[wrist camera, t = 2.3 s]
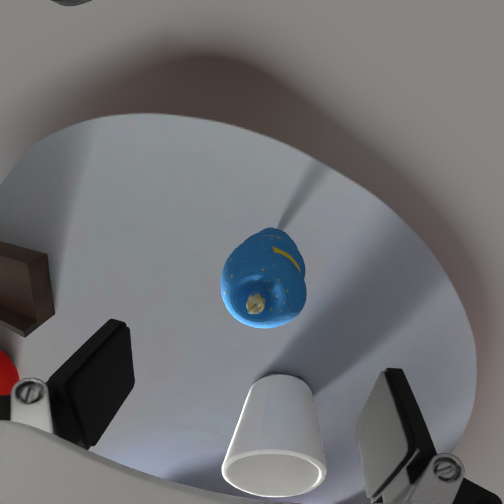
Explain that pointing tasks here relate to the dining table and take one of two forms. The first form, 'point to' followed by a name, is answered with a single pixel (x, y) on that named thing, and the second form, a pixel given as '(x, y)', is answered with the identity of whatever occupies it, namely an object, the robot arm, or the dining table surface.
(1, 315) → the shelf
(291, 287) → the ornament
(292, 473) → the cup
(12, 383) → the tomato
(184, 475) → the dining table surface
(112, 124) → the dining table surface
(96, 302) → the dining table surface
